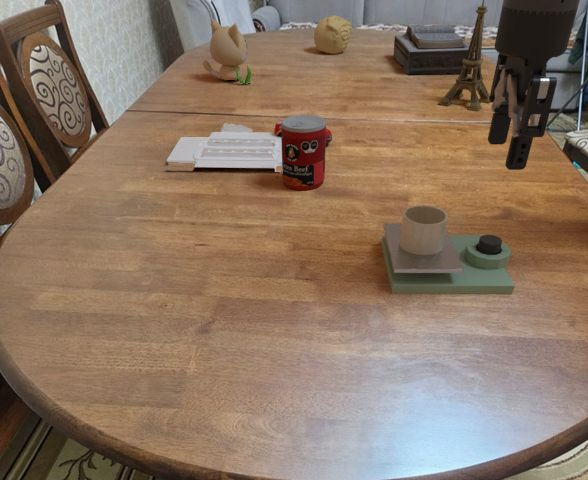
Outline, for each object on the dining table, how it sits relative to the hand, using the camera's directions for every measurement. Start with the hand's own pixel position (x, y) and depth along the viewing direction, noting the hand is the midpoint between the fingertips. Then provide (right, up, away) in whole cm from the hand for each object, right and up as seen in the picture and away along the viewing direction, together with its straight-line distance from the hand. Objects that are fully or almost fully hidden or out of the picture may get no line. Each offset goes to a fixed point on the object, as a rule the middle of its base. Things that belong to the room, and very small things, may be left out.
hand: (504, 155), depth 68 cm
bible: (+16, +64, +102) cm, 122 cm away
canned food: (-24, +7, +34) cm, 42 cm away
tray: (-37, +16, +46) cm, 61 cm away
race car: (-24, +21, +50) cm, 60 cm away
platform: (-9, -10, +9) cm, 16 cm away
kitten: (-44, +54, +90) cm, 114 cm away
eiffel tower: (+17, +39, +71) cm, 83 cm away
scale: (-5, -12, +10) cm, 17 cm away
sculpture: (-13, +77, +117) cm, 141 cm away
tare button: (+1, -10, +9) cm, 13 cm away
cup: (-9, -10, +8) cm, 15 cm away
